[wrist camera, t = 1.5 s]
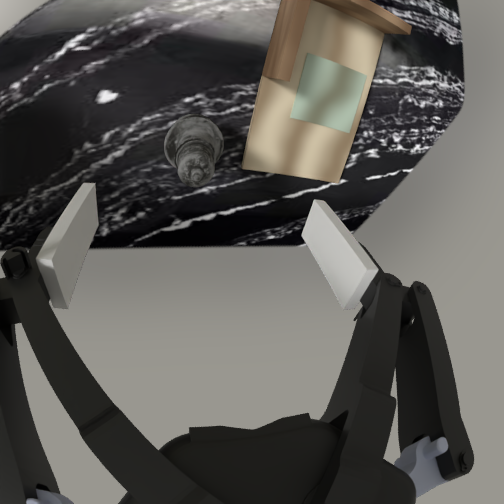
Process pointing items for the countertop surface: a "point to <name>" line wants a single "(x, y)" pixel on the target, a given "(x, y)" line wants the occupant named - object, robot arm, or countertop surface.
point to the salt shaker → (194, 148)
